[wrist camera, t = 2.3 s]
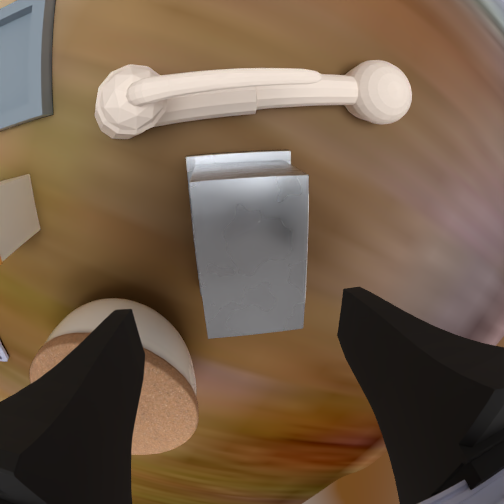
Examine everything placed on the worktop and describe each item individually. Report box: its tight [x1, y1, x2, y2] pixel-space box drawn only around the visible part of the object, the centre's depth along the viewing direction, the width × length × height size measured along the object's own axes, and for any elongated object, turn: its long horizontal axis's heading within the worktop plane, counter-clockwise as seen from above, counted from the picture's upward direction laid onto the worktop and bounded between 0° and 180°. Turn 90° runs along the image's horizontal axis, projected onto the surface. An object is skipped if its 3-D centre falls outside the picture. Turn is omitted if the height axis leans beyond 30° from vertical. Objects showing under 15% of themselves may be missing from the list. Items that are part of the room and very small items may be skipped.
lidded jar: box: [29, 298, 198, 455], centre depth 18 cm, size 11×11×9 cm
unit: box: [186, 150, 309, 339], centre depth 17 cm, size 6×9×6 cm, turn 2°
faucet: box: [95, 60, 412, 139], centre depth 14 cm, size 4×18×10 cm, turn 95°
